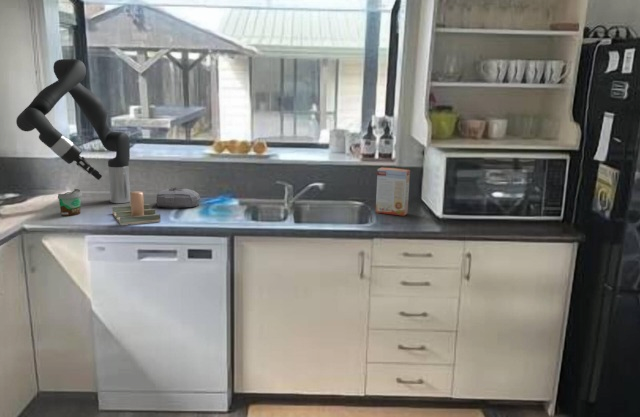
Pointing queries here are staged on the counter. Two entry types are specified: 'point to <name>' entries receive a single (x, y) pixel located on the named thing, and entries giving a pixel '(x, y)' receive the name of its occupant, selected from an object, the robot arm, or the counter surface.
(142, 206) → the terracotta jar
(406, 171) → the cracker box
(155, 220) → the comb board
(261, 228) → the counter surface
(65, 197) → the food container
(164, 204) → the soft grey pack
